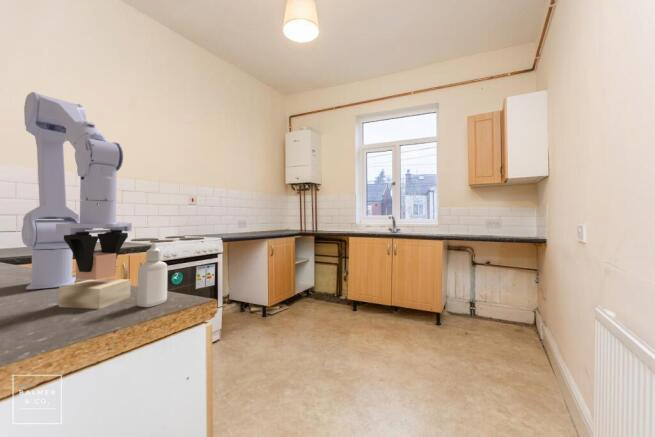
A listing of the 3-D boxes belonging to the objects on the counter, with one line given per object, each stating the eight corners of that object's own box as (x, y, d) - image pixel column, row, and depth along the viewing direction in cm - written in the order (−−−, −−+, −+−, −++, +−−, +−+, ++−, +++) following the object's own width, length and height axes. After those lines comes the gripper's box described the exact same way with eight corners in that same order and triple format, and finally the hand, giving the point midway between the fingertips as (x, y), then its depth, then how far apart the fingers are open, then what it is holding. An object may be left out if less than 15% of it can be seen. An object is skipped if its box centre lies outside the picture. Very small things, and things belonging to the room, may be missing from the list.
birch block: (58, 308, 56) (59, 287, 56) (94, 296, 64) (94, 278, 64) (99, 310, 56) (99, 288, 56) (130, 298, 64) (130, 279, 64)
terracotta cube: (75, 278, 58) (76, 255, 58) (97, 274, 63) (97, 252, 63) (95, 279, 58) (96, 256, 58) (116, 275, 62) (116, 253, 62)
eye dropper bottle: (171, 303, 60) (173, 243, 60) (139, 309, 56) (141, 244, 56) (163, 298, 63) (165, 241, 63) (133, 304, 59) (134, 243, 59)
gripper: (80, 199, 52) (79, 277, 52) (144, 203, 67) (143, 264, 67) (46, 198, 53) (45, 275, 53) (116, 202, 68) (115, 262, 68)
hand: (97, 269), depth 60 cm, fingers closed on terracotta cube, 4 cm apart
